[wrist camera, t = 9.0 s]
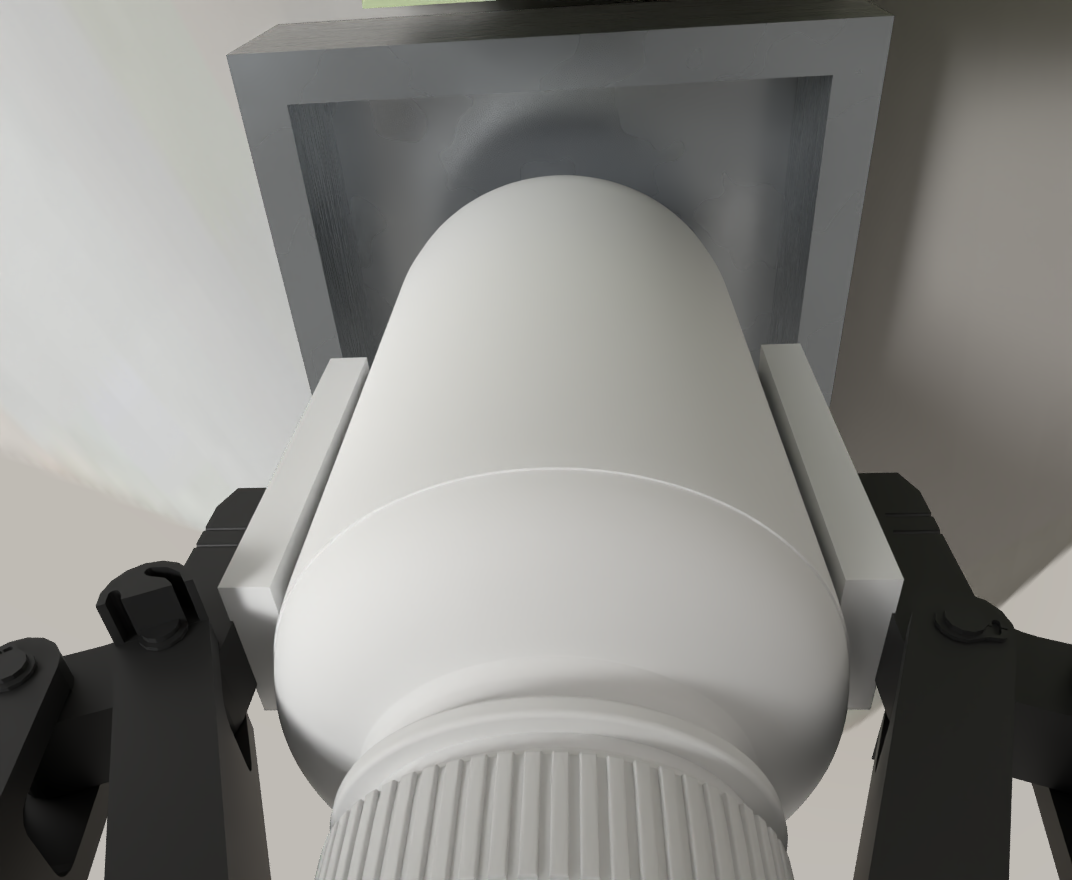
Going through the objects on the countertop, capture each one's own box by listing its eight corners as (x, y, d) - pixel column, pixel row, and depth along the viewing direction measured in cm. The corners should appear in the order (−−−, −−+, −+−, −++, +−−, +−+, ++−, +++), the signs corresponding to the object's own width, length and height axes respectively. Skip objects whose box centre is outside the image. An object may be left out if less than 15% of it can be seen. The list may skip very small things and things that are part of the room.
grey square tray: (373, 468, 27) (348, 541, 24) (277, 24, 20) (226, 54, 17) (784, 458, 26) (808, 533, 23) (847, -11, 19) (894, 16, 16)
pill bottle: (646, 494, 24) (717, 1197, 11) (367, 401, 22) (103, 1087, 10) (794, 241, 19) (1175, 942, 7) (459, 107, 18) (187, 682, 6)
